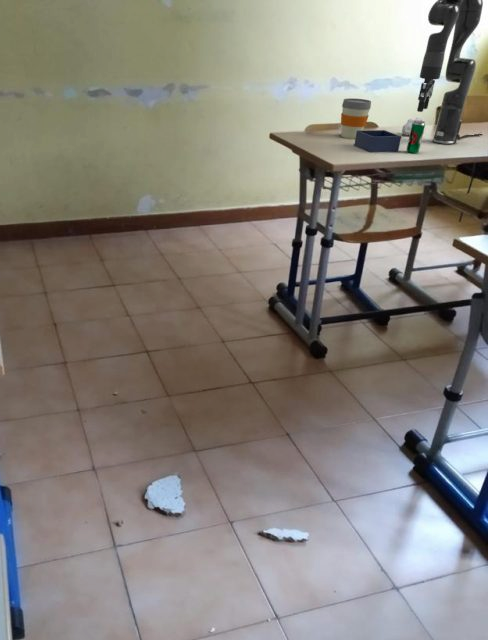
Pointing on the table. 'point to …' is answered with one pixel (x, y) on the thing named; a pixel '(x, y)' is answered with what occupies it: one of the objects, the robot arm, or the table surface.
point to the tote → (377, 141)
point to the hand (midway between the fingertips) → (422, 110)
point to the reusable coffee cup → (354, 116)
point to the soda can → (415, 136)
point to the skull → (408, 126)
